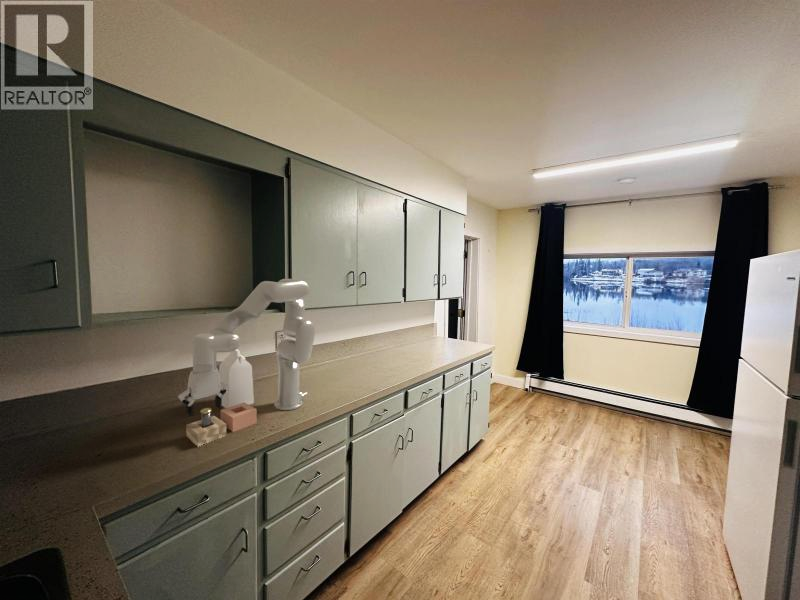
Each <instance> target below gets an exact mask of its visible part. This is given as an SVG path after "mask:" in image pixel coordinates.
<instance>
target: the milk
mask: <svg viewBox="0 0 800 600" xmlns="http://www.w3.org/2000/svg"><path fill="white" fill-rule="evenodd" d="M218 366H219V369H218V371H219V376H220V382H222V383H226V384H228V385H229V386H228V388H227V390H226V392H225V394H224V395H223V397H222V404H221V407H223V408H224V409H225V408H228V407H232V406H235V405H238V404H241V403H246V404H248V405H253V404H254V403H255V399H254V379H253V378H254V376H253V366H252V364H251V363H250V362H249V361H248V360H246V357H245V356H243V355H242V354H241V350H239V349H238V348H237V349H236V350H234V351H231V352H229V354H228V355H227V356H226V357H225V358H224V359H223V360H222V361H220V365H218ZM222 389H223V386H220V391H221V390H222Z"/></svg>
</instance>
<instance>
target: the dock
mask: <svg viewBox="0 0 800 600" xmlns="http://www.w3.org/2000/svg"><path fill="white" fill-rule="evenodd" d="M257 410H258V409H257V408H255V407H253V406H251V404H249V405H248V404H246V403H241V404H238V405H235V406H232V407H228V408H225V407H224V408H222V409H220V420H221V421H223V422H224V423H226V429H228V430H229V431H230V430H231V431H230V432H232V433H235V432H237V431H240V430H242V429H245V428H247V427H250V426H252V425H255V424H257V423H258V421H257V420H258V419H257V418H258V417H257V415H258V413H257V412H258V411H257Z"/></svg>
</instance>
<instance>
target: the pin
mask: <svg viewBox="0 0 800 600" xmlns="http://www.w3.org/2000/svg"><path fill="white" fill-rule="evenodd" d="M200 415H201V420H202V428H206V427H208V426H211V417H212V408H211V407H204V408H202V409H200Z"/></svg>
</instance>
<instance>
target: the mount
mask: <svg viewBox="0 0 800 600" xmlns="http://www.w3.org/2000/svg"><path fill="white" fill-rule="evenodd" d="M185 427H186V429H185V430H186V438H187V437H188V438H189V439H190V440H191V441H190V440H189V439H188V438H187V439H188V440H189V441H190V442H191V443H193V444H194V445H195V446H196V445H197V448H200V447H202V446H204V445H203V444H205V445H207V444H210V443H212V442H215V441H216V440H217V439H218V440H220V439H222V437H223V438H225V437H227V428H226V423H224V422H223V421H221V418H218V417H217V416H216V415H211V426H208V427H206V428H202V419H200V420H197V421H194V422H191V423H188V424H186V425H185ZM219 438H220V439H219ZM214 440H215V441H214ZM211 441H212V442H211ZM209 442H210V443H209ZM206 443H207V444H206ZM201 445H202V446H201ZM199 446H200V447H199Z"/></svg>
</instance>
